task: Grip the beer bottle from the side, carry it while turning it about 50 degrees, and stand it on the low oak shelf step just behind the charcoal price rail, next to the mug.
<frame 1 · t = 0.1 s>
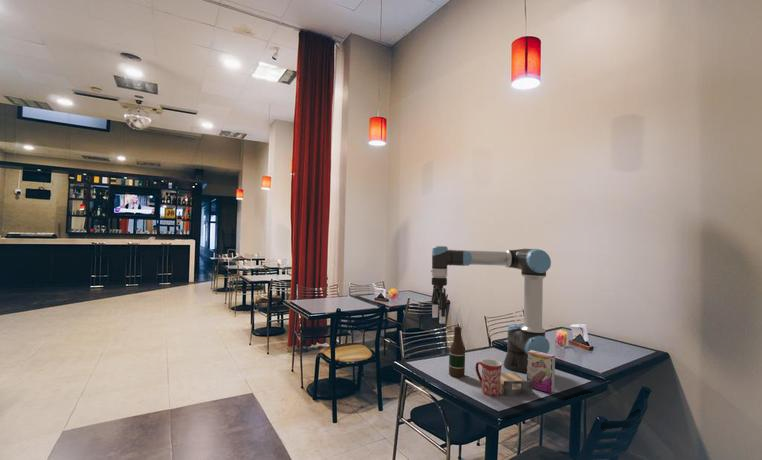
hand: (438, 320, 174), 28 cm above the table, tool pointing down, fingers open, 13 cm apart
mug: (487, 391, 158), on the table
shelf step: (509, 387, 163), on the table
candy bar box: (540, 389, 163), on the table
beer bottle: (456, 375, 177), on the table
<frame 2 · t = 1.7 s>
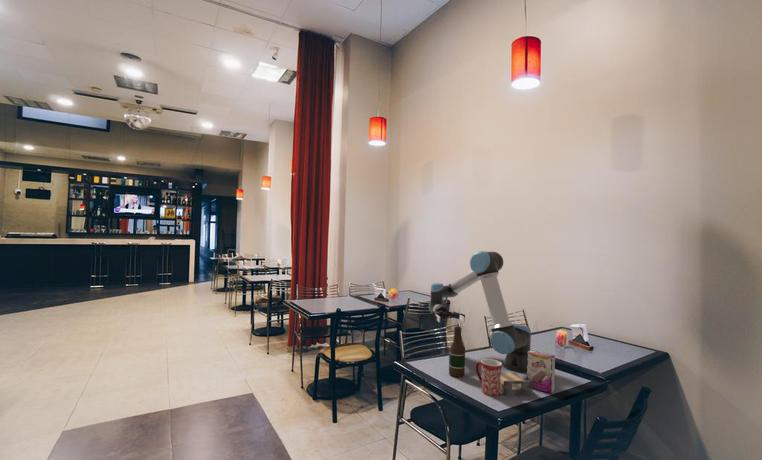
hand: (451, 319, 188), 25 cm above the table, tool horizontal, fingers open, 13 cm apart
nothing on the table moved.
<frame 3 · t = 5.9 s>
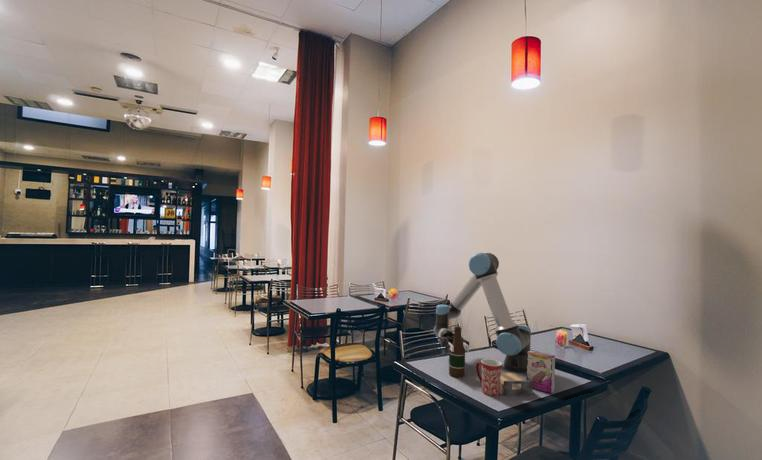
hand: (460, 348, 173), 14 cm above the table, tool horizontal, fingers closed on beer bottle, 7 cm apart
beer bottle: (456, 375, 177), on the table, touching gripper
everything else where it was.
when the fingers open (20 cm above the table, at t = 12.1 s): beer bottle drops 1 cm, resting on shelf step.
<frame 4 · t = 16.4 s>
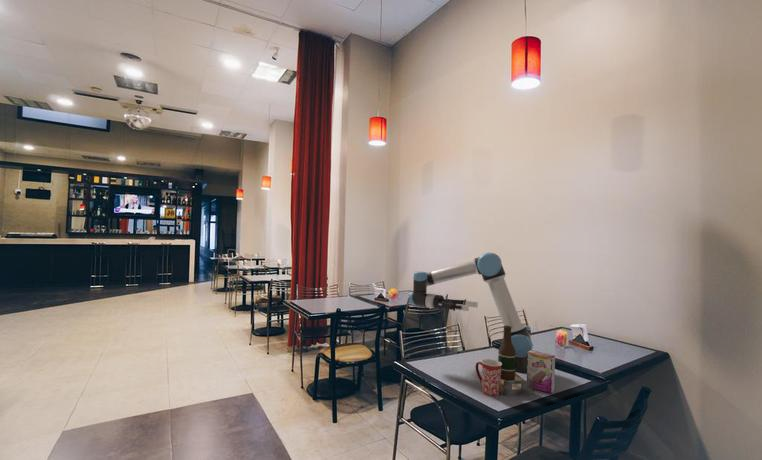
hand: (473, 306, 181), 34 cm above the table, tool horizontal, fingers open, 13 cm apart
beer bottle: (506, 378, 164), point 4 cm above the table, touching shelf step
everything else where it was.
at the end: beer bottle inside the target area (1.1 cm from its centre), point 3.8 cm above the table; beer bottle tilted 0°; beer bottle touching shelf step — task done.
